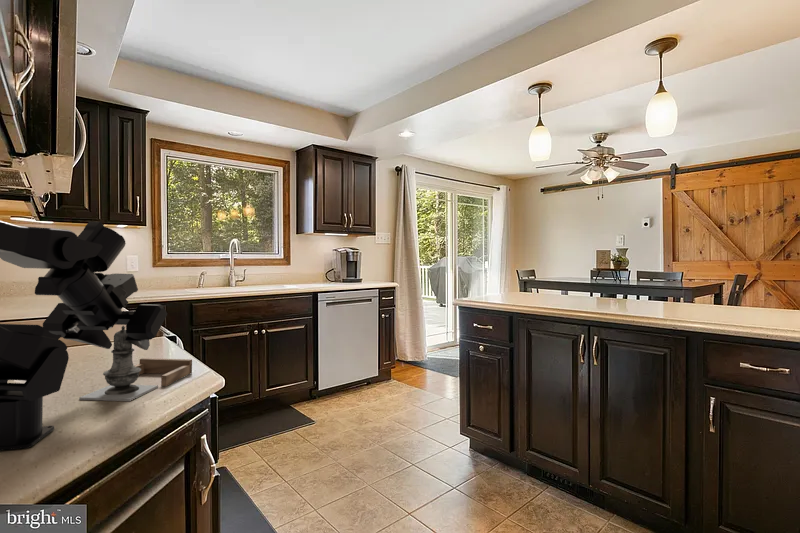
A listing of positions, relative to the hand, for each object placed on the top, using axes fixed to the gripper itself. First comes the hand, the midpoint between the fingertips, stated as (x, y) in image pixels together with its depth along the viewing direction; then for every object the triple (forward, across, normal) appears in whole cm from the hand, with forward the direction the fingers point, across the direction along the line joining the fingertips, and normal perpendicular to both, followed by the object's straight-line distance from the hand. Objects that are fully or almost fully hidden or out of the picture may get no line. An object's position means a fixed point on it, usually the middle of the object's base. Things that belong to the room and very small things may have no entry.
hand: (128, 347), depth 78 cm
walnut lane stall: (+11, 0, 0) cm, 11 cm away
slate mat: (+4, 0, +7) cm, 8 cm away
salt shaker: (+4, 0, +7) cm, 8 cm away
